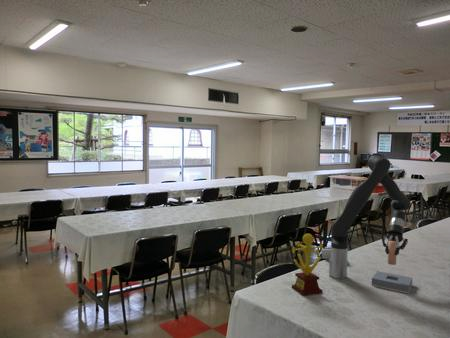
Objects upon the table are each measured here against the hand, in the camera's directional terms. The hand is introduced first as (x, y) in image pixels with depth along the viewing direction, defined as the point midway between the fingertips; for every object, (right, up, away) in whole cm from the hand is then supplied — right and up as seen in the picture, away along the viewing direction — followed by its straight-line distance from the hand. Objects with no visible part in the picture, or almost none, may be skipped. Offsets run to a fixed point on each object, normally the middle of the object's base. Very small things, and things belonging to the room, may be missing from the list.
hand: (391, 253), depth 189 cm
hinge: (-17, -16, +47) cm, 52 cm away
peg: (+1, -6, +2) cm, 6 cm away
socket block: (+2, -18, +4) cm, 19 cm away
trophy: (-47, -18, -5) cm, 50 cm away
